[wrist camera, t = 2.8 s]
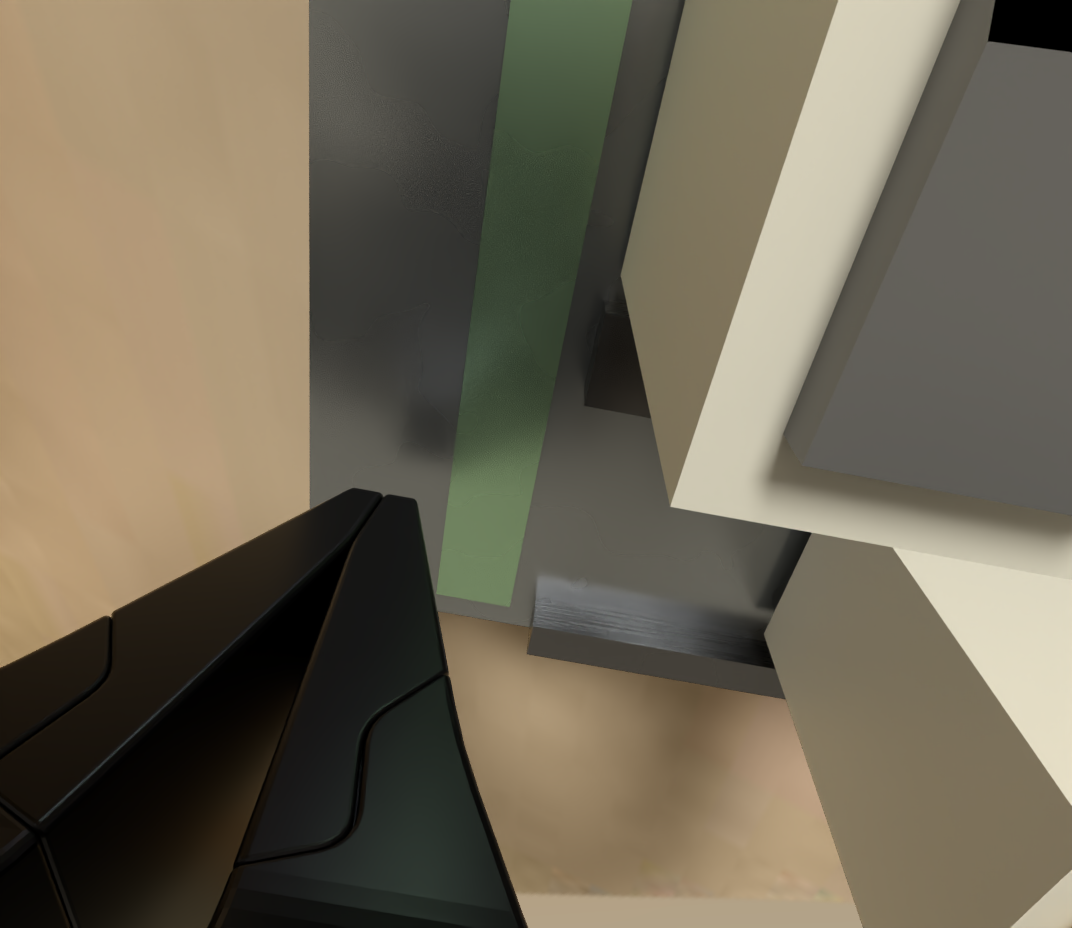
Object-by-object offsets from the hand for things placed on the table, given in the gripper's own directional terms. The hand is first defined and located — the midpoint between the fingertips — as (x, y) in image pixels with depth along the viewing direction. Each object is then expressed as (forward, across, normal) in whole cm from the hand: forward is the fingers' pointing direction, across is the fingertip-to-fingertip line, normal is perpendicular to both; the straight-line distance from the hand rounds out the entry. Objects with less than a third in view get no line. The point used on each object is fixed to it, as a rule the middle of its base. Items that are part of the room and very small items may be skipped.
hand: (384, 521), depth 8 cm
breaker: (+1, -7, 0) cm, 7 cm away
